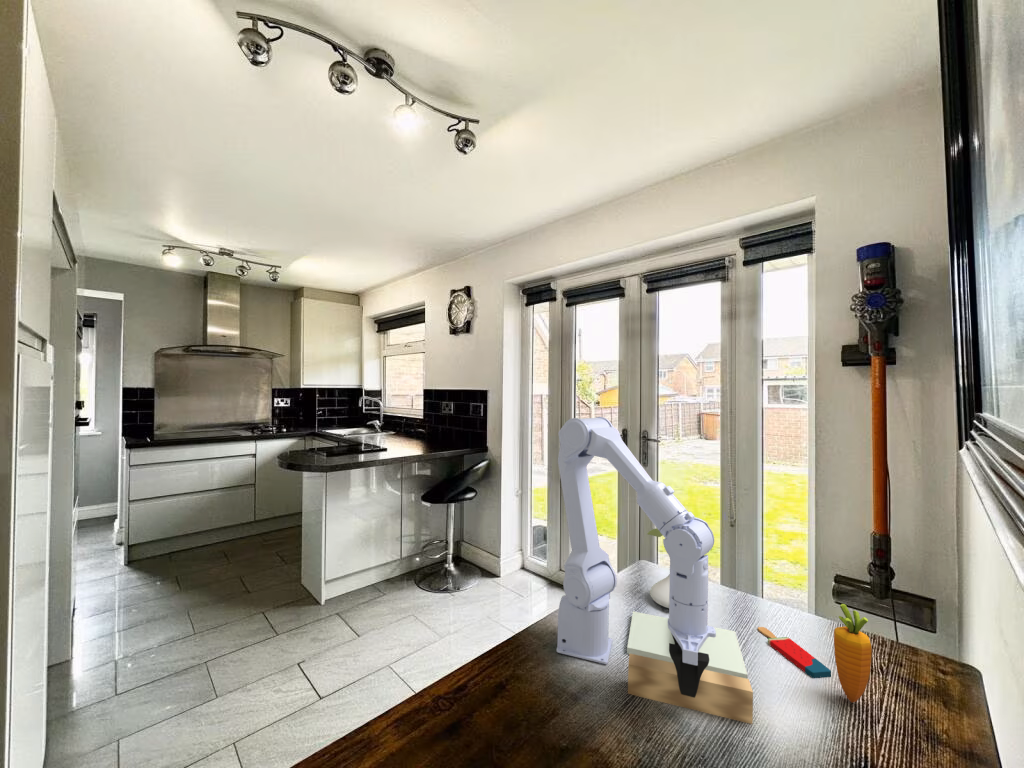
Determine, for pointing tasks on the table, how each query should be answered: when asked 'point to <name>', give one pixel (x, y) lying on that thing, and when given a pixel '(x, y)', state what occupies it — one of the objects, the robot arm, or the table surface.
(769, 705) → the table surface
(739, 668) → the balance stand
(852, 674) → the carrot
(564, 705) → the table surface
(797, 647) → the popsicle
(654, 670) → the wooden block
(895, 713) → the table surface
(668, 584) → the flower in vase
